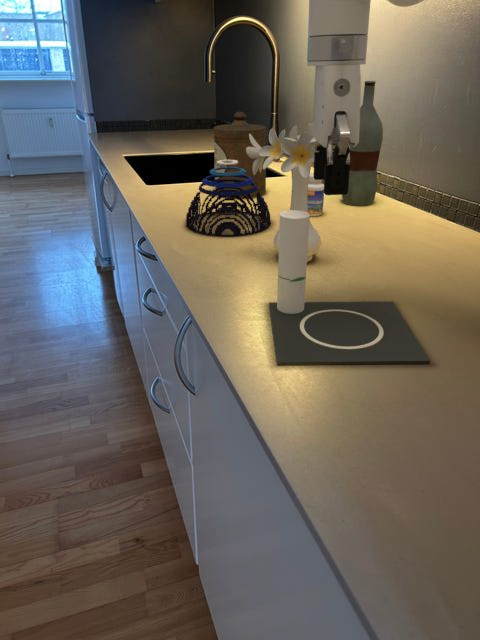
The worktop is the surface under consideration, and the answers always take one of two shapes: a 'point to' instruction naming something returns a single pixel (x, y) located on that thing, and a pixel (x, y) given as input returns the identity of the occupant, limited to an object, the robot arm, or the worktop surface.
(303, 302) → the tube
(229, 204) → the decorative bowl
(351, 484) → the worktop surface
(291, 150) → the flower vase
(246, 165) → the wooden container
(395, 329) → the slate board
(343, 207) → the worktop surface
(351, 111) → the robot arm
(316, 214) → the pill bottle
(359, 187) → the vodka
